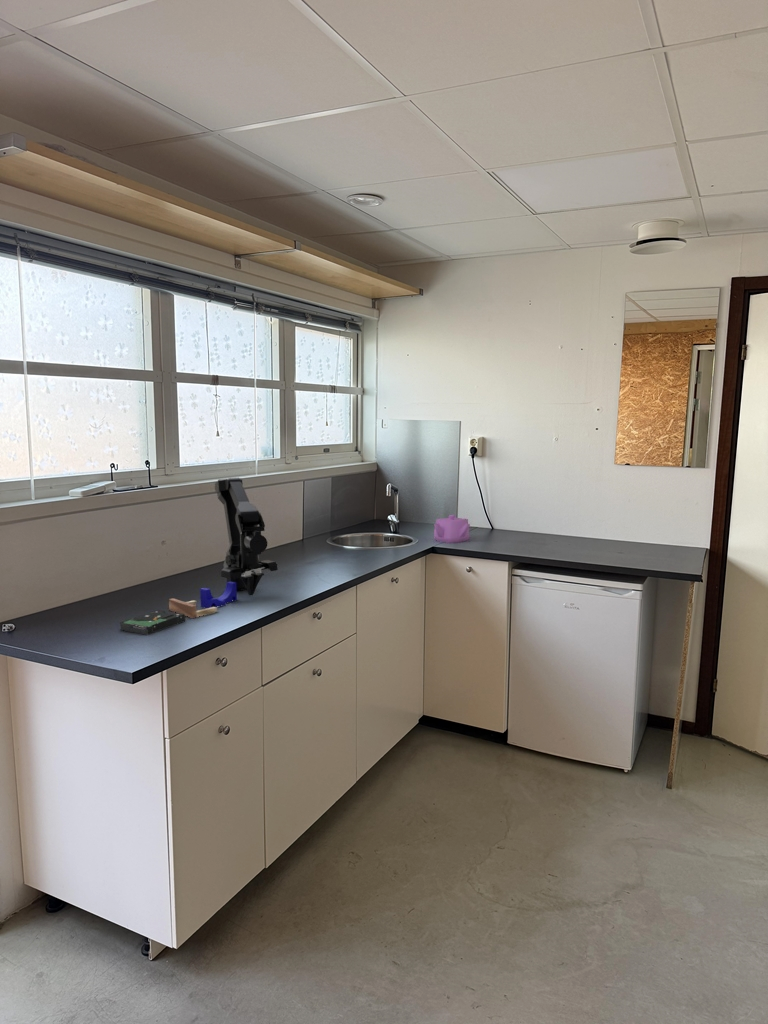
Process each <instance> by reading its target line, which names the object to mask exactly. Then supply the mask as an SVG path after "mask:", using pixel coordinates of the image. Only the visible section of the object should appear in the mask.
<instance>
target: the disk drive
mask: <svg viewBox="0 0 768 1024" xmlns="http://www.w3.org/2000/svg"><path fill="white" fill-rule="evenodd" d="M183 621H184V622H186V616H185V614H181V613H175V612H173V611H168V612H166V611H165V610H160V609H158V610H155V611H151V612H147V613H145V614H143V615H139V616H136V617H133V618H130V619H127V620H123V621H122V622H120V631H123V630H124V631H125V632H129V633H135V634H140V633H141V634H142V635H147V634H148V635H150V634H153V633H155V632H159V631H161V630H164V629H166V628H170V627H173V626H176V625H178V624H180V622H181V623H183ZM177 623H178V624H177ZM169 626H170V627H169Z"/></svg>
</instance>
